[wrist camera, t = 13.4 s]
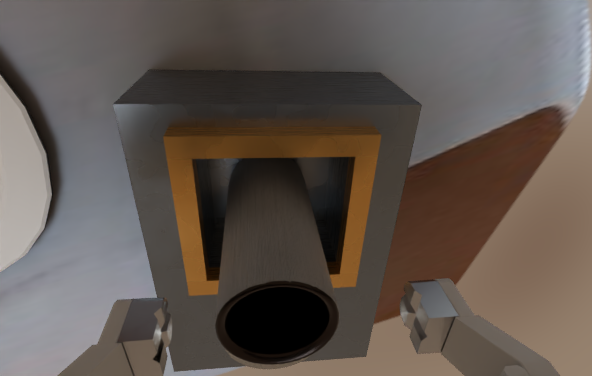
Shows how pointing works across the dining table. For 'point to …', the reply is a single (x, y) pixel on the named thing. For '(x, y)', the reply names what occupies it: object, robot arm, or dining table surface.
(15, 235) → the plate
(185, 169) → the grey box with knob
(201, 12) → the dining table surface
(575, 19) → the dining table surface
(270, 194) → the grey cylinder
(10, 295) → the dining table surface
